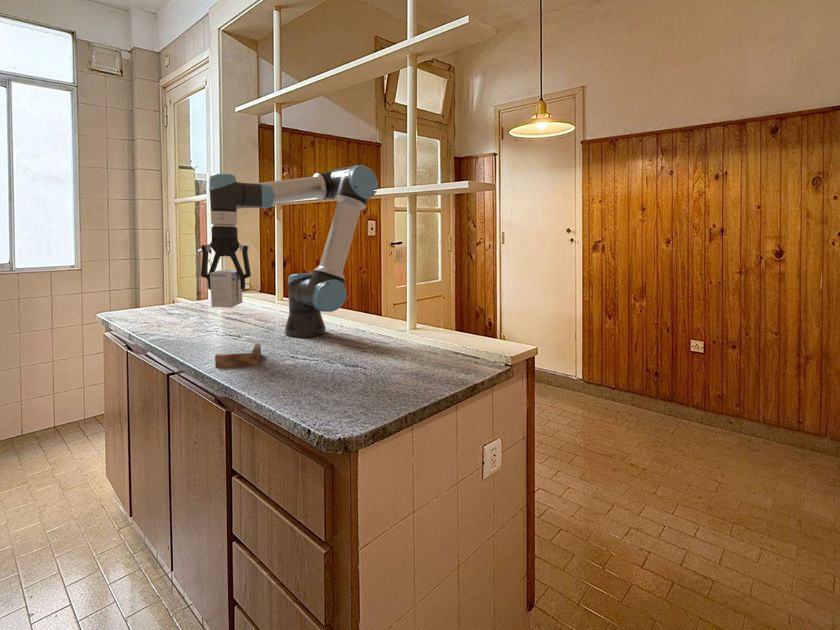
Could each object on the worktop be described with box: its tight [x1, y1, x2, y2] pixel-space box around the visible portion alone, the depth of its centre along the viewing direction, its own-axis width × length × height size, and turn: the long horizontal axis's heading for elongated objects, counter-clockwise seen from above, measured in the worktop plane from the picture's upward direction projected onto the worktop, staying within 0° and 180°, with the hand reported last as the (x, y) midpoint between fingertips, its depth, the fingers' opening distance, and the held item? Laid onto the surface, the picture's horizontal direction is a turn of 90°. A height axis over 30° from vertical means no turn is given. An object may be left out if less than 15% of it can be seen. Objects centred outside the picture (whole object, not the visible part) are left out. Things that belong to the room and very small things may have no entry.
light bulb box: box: [210, 269, 243, 308], centre depth 162 cm, size 11×7×11 cm, turn 3°
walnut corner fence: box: [214, 343, 262, 368], centre depth 157 cm, size 12×14×4 cm
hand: (227, 299), depth 162 cm, fingers closed on light bulb box, 7 cm apart
